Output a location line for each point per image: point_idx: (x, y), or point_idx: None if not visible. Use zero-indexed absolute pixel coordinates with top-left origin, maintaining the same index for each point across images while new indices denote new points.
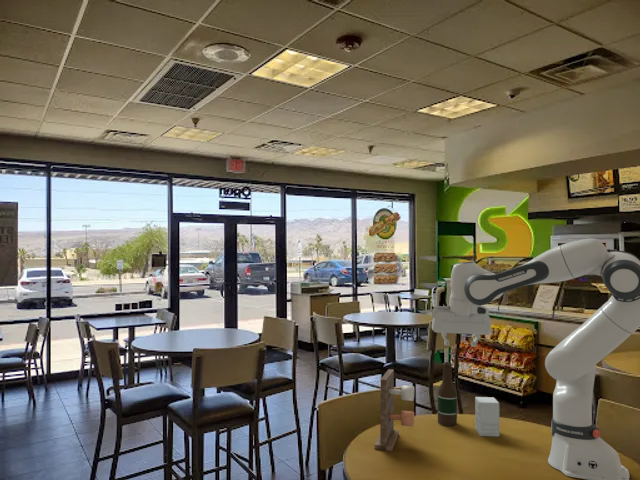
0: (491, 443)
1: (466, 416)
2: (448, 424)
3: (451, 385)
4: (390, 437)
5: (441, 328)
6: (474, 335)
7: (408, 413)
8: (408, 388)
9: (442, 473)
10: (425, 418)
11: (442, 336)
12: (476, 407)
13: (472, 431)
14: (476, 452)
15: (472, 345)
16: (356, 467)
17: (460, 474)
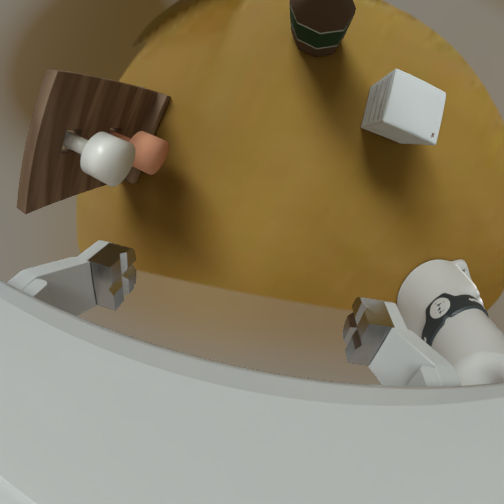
0: (363, 172)
1: (382, 14)
2: (311, 54)
3: (334, 6)
4: None
5: None
6: (419, 371)
7: (138, 163)
8: (96, 175)
9: (199, 280)
10: (272, 5)
11: (43, 266)
12: (383, 88)
13: (356, 96)
14: (303, 211)
15: (345, 337)
16: (85, 237)
17: (227, 289)
